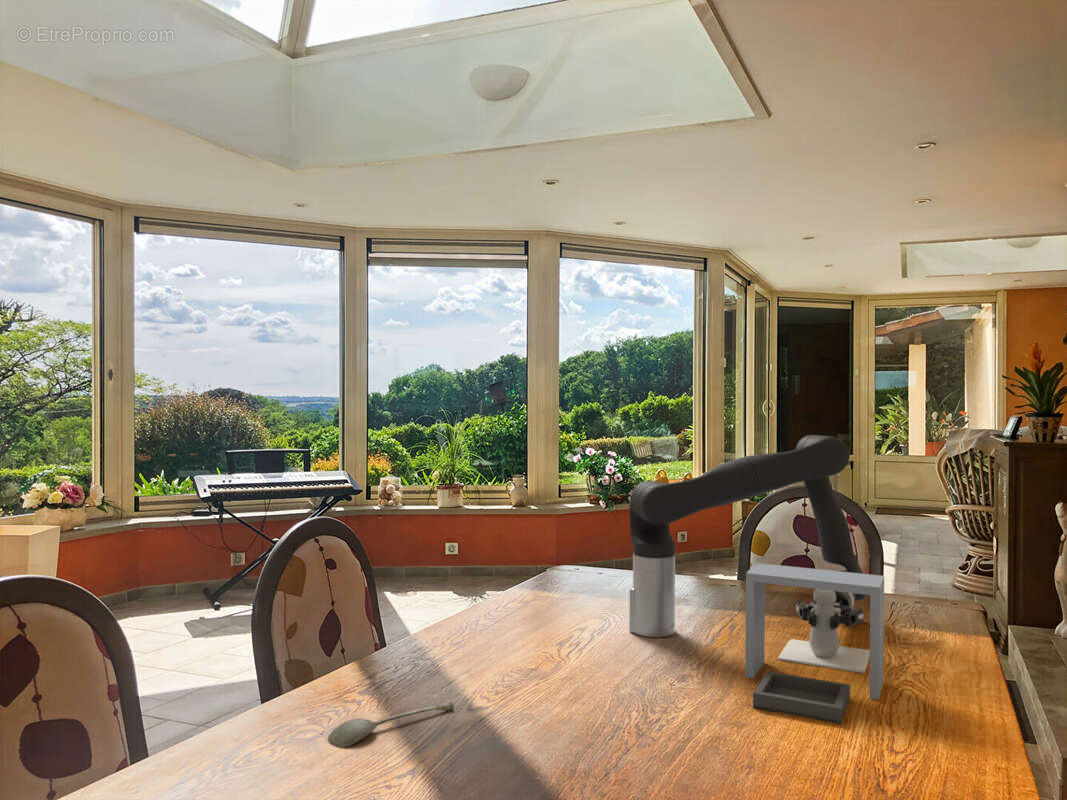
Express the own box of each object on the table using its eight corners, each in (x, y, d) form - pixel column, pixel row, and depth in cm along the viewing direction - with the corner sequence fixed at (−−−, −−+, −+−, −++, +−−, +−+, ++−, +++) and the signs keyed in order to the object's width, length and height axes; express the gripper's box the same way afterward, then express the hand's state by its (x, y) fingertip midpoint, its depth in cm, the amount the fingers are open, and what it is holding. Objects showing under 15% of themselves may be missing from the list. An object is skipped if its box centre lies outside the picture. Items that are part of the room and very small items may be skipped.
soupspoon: (319, 743, 123) (337, 761, 118) (319, 722, 123) (337, 738, 118) (443, 704, 137) (463, 719, 132) (442, 685, 137) (463, 699, 131)
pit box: (752, 707, 136) (753, 692, 135) (767, 684, 146) (767, 671, 146) (841, 723, 129) (841, 708, 129) (849, 698, 140) (849, 684, 140)
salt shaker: (841, 659, 158) (842, 594, 158) (811, 657, 159) (811, 592, 159) (836, 650, 164) (837, 586, 164) (807, 648, 165) (807, 585, 165)
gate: (745, 677, 150) (745, 573, 150) (756, 661, 159) (757, 563, 159) (878, 699, 139) (879, 587, 139) (883, 681, 148) (884, 575, 148)
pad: (777, 659, 160) (777, 657, 160) (790, 640, 172) (790, 638, 172) (864, 673, 152) (864, 671, 152) (871, 652, 165) (871, 650, 165)
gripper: (800, 581, 177) (786, 599, 162) (869, 589, 171) (861, 608, 156) (800, 615, 177) (785, 636, 162) (868, 624, 171) (860, 647, 156)
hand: (822, 623), depth 159 cm, fingers open, 3 cm apart
